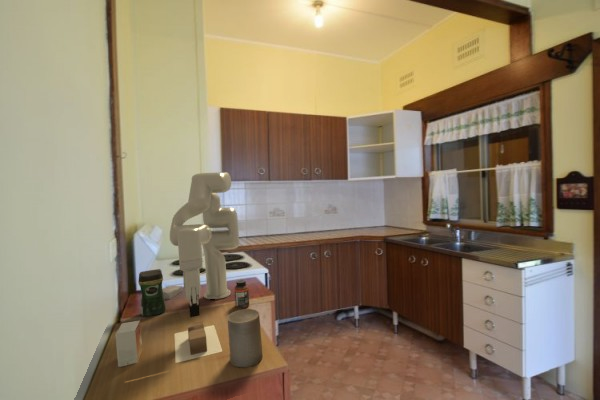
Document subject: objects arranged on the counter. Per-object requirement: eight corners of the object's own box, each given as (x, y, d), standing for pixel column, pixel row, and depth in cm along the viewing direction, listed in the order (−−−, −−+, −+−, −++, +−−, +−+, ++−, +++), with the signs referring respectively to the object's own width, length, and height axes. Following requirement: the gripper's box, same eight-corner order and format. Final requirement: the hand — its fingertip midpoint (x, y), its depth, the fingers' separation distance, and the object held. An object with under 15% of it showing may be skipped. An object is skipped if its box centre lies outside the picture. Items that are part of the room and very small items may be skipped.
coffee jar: (165, 307, 141) (162, 266, 140) (166, 313, 134) (163, 270, 133) (141, 312, 137) (138, 270, 136) (140, 318, 130) (137, 274, 129)
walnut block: (187, 324, 110) (189, 339, 99) (202, 321, 112) (206, 336, 101) (188, 338, 110) (190, 355, 99) (203, 335, 112) (207, 351, 101)
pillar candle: (256, 347, 103) (252, 302, 102) (267, 361, 95) (263, 312, 94) (226, 356, 99) (222, 309, 98) (235, 372, 90) (231, 321, 89)
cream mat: (174, 334, 115) (174, 333, 115) (214, 326, 120) (214, 325, 120) (175, 364, 95) (175, 362, 95) (222, 352, 101) (222, 351, 101)
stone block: (153, 303, 152) (171, 299, 151) (150, 293, 152) (168, 289, 151) (167, 295, 164) (184, 291, 162) (165, 286, 164) (182, 282, 162)
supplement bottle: (238, 303, 142) (237, 278, 141) (251, 303, 141) (249, 278, 140) (233, 308, 136) (231, 283, 135) (246, 309, 135) (244, 283, 134)
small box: (138, 363, 97) (135, 330, 96) (117, 367, 95) (114, 333, 94) (143, 350, 104) (140, 319, 104) (124, 354, 103) (121, 322, 102)
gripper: (178, 260, 114) (182, 310, 115) (180, 270, 100) (184, 326, 101) (200, 257, 117) (203, 306, 118) (204, 267, 103) (208, 321, 104)
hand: (194, 315), depth 110 cm, fingers closed
